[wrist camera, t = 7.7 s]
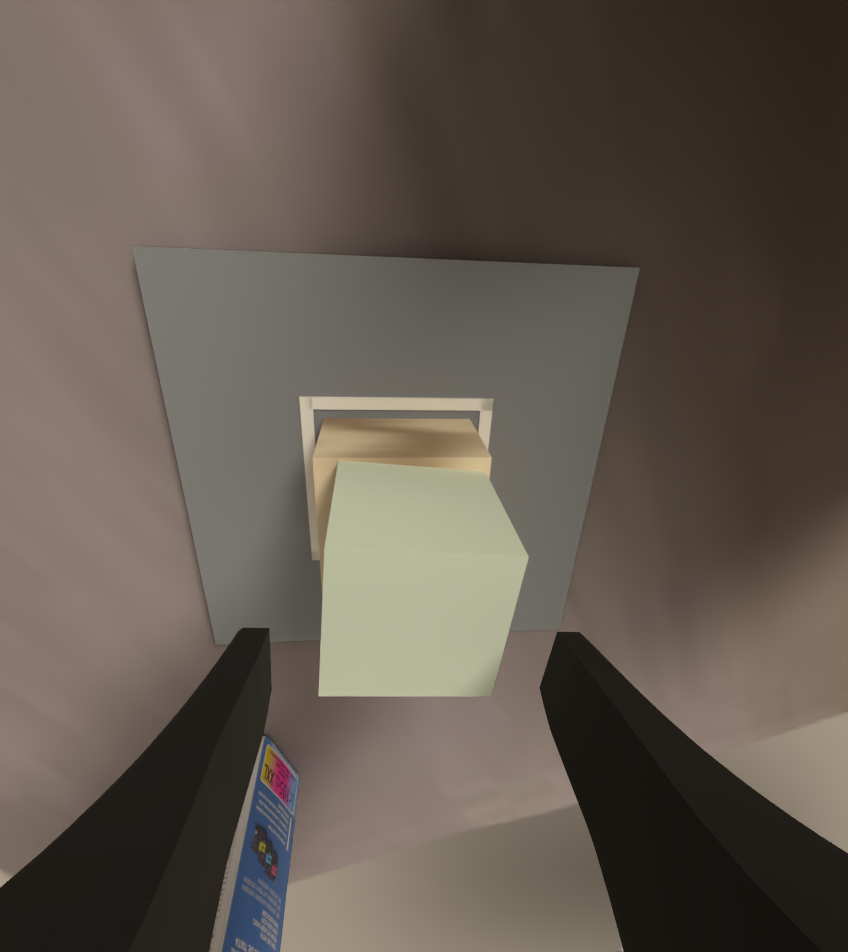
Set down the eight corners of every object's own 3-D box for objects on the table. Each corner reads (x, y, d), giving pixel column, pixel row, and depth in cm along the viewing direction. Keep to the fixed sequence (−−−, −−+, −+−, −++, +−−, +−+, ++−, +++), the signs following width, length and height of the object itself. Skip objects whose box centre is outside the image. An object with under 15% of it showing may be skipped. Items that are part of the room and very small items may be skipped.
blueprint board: (219, 635, 24) (215, 646, 23) (139, 246, 16) (130, 246, 15) (555, 621, 26) (560, 630, 25) (632, 267, 18) (641, 268, 17)
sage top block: (332, 581, 17) (318, 696, 13) (338, 460, 15) (324, 547, 11) (462, 586, 18) (491, 696, 14) (485, 471, 16) (528, 557, 12)
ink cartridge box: (169, 826, 30) (20, 1252, 18) (116, 781, 28) (-104, 1238, 15) (308, 780, 30) (258, 1188, 17) (265, 730, 27) (170, 1162, 14)
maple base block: (330, 542, 21) (322, 601, 18) (323, 418, 19) (312, 457, 15) (459, 539, 22) (476, 595, 18) (469, 418, 19) (491, 457, 16)
